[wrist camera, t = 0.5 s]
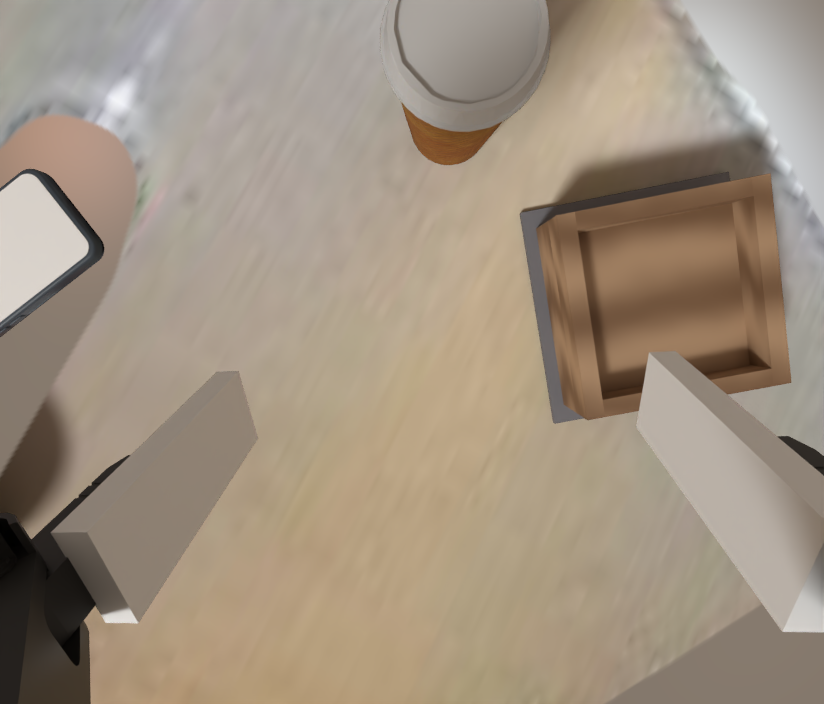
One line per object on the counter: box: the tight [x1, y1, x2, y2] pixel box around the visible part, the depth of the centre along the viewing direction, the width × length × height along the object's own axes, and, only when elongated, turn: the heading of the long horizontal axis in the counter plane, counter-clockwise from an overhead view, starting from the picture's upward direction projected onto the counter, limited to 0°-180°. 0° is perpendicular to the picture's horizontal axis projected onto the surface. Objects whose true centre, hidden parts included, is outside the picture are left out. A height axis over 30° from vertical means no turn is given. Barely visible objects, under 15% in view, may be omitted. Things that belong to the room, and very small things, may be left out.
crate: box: [536, 174, 791, 420], centre depth 33 cm, size 15×15×5 cm
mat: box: [520, 172, 730, 423], centre depth 35 cm, size 18×17×1 cm
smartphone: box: [0, 169, 104, 337], centre depth 35 cm, size 9×2×16 cm
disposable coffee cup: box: [380, 0, 550, 165], centre depth 28 cm, size 10×10×12 cm
